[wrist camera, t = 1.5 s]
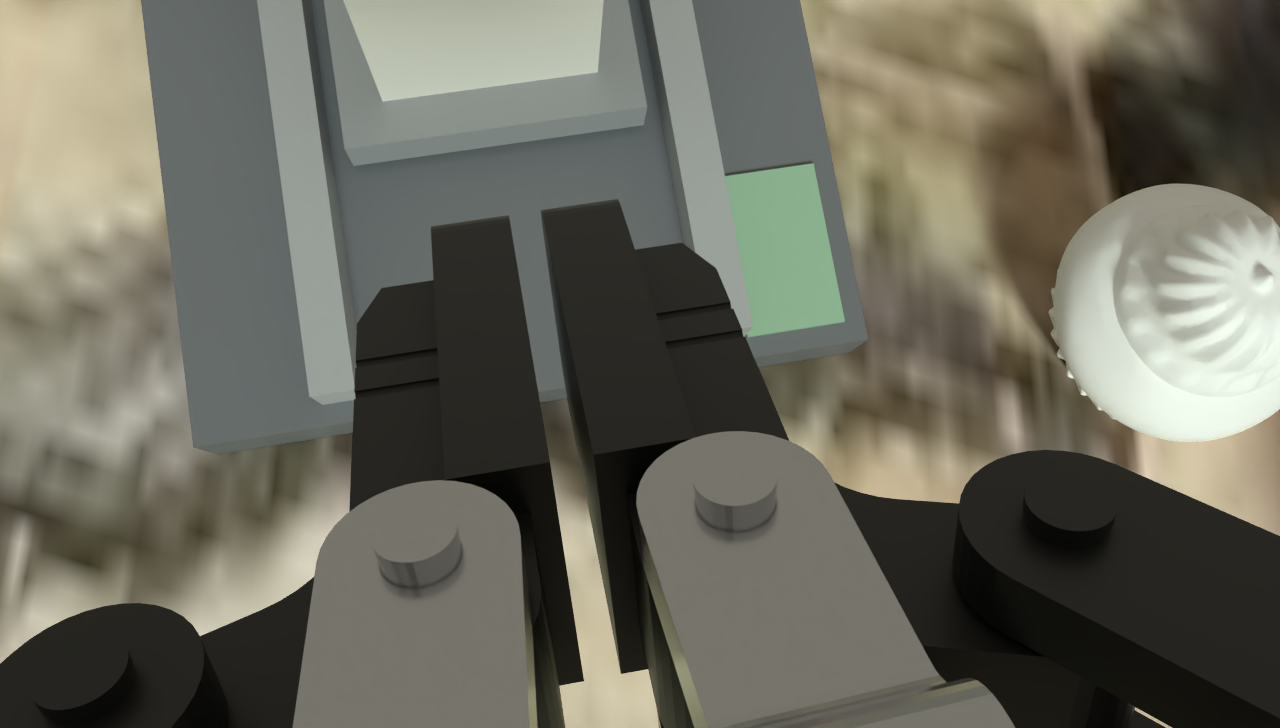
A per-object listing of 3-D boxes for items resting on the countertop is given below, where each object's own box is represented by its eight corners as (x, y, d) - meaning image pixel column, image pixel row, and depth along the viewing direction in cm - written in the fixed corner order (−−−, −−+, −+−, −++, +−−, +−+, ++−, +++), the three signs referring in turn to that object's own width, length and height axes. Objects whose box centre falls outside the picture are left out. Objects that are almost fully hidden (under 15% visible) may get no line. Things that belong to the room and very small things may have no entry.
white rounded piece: (957, 369, 31) (1072, 317, 24) (1071, 180, 32) (1212, 78, 25) (1162, 500, 31) (1335, 485, 24) (1269, 306, 32) (1465, 237, 25)
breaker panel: (217, 454, 29) (172, 441, 26) (142, -177, 32) (91, -265, 28) (848, 352, 31) (884, 327, 27) (729, -243, 33) (749, -335, 30)
